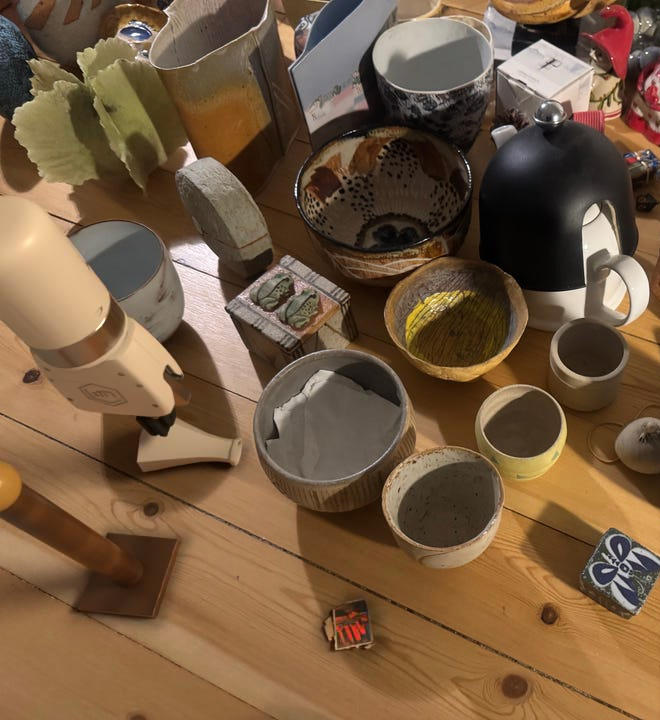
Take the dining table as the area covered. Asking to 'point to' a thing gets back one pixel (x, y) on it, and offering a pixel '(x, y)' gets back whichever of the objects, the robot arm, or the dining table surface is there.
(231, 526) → the dining table surface
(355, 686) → the dining table surface
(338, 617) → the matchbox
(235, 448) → the flask
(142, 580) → the post
